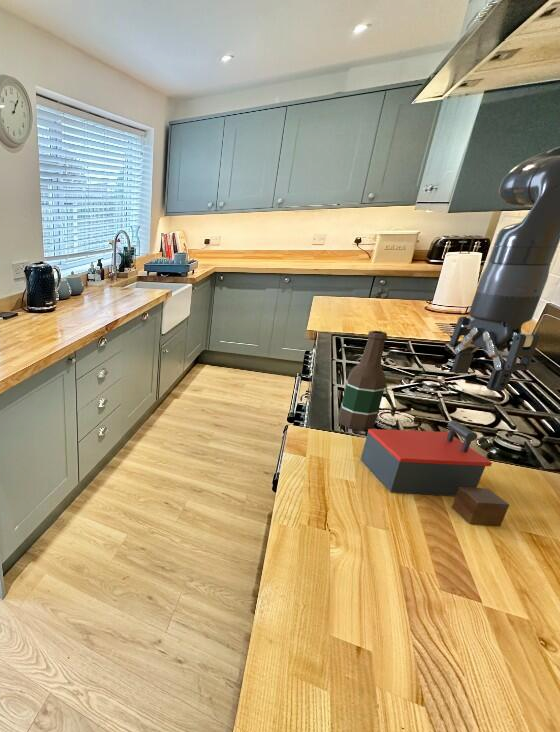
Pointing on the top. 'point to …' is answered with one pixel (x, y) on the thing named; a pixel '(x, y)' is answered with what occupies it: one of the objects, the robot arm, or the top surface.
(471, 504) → the block
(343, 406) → the beer bottle
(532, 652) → the top surface
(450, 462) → the lid
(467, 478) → the food box
